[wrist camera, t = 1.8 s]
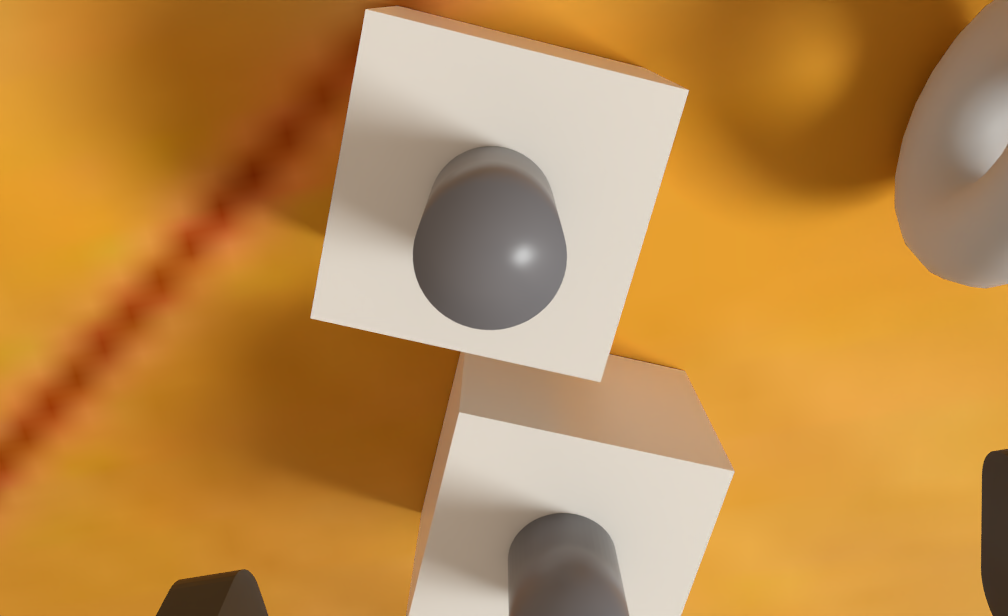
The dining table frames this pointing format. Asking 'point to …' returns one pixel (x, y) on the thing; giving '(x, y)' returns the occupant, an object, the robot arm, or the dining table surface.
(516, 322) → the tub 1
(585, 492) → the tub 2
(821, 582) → the dining table surface
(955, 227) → the donut
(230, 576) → the robot arm
